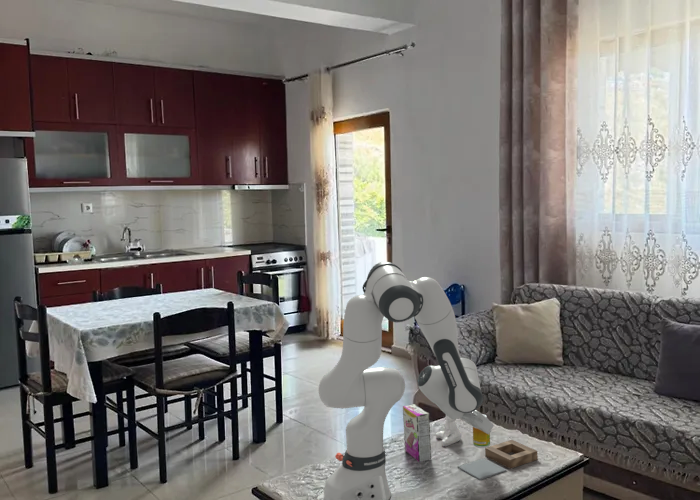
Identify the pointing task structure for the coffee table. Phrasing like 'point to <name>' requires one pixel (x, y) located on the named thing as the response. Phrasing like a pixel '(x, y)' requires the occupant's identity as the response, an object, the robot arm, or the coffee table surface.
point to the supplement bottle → (480, 438)
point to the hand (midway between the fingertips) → (482, 428)
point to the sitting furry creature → (449, 432)
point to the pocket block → (510, 461)
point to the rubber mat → (482, 468)
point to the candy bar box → (417, 432)
